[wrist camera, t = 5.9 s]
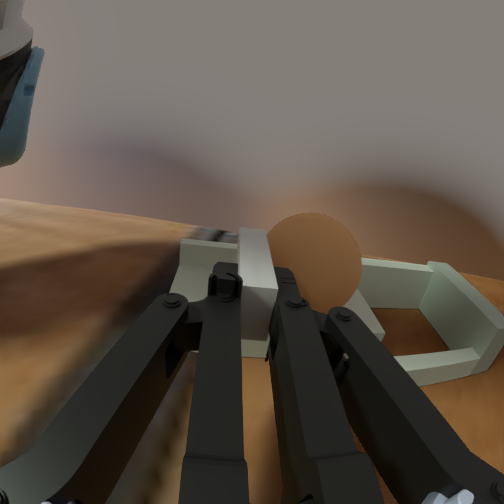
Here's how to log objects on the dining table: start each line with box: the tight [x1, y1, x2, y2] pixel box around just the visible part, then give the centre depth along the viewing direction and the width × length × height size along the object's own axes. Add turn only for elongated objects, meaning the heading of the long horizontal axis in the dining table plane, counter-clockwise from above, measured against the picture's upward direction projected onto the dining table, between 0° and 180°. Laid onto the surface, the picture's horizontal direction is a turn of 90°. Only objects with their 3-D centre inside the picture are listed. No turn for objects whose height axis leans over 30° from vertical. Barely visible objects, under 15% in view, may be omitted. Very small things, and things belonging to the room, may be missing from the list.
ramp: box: [169, 239, 504, 386], centre depth 21 cm, size 28×12×5 cm, turn 93°
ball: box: [266, 213, 362, 314], centre depth 19 cm, size 7×7×7 cm
